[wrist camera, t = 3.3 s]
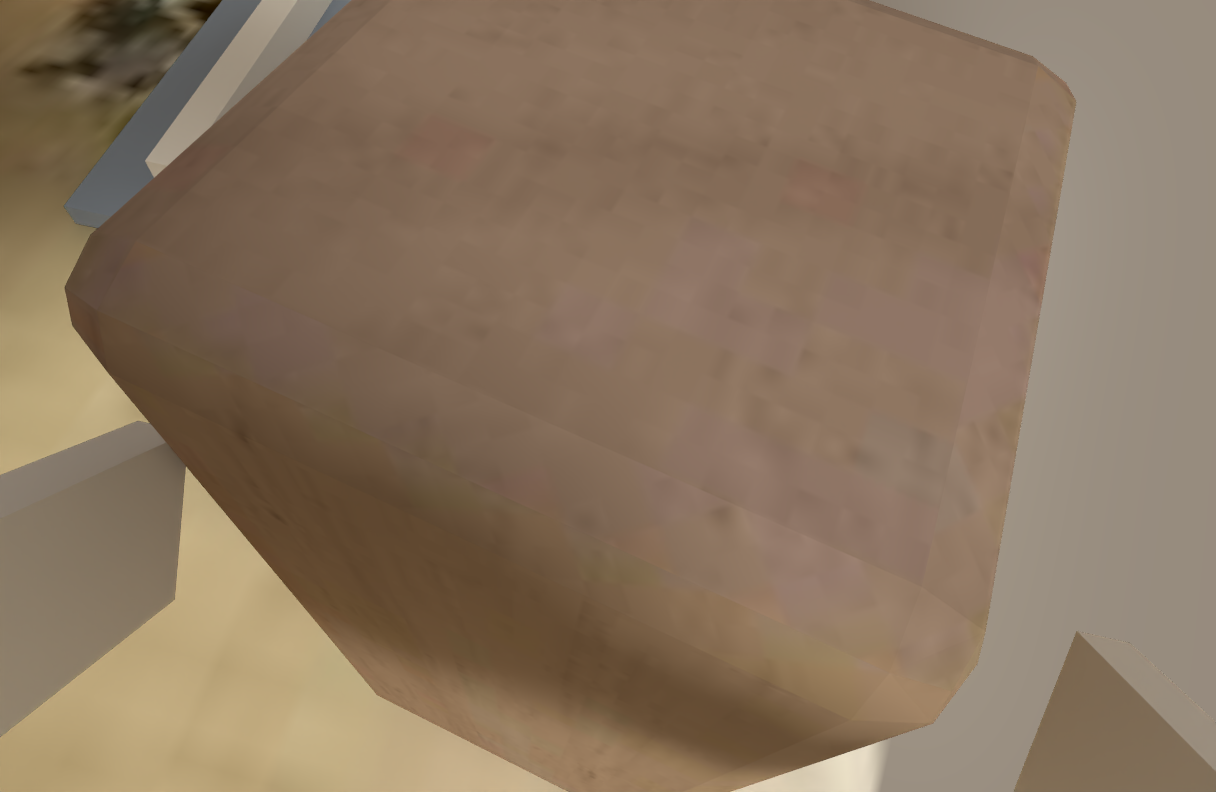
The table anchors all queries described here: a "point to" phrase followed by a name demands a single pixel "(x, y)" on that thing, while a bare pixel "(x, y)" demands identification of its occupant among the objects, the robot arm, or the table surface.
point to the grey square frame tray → (197, 95)
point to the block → (611, 362)
